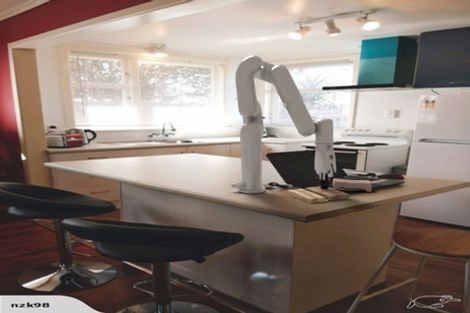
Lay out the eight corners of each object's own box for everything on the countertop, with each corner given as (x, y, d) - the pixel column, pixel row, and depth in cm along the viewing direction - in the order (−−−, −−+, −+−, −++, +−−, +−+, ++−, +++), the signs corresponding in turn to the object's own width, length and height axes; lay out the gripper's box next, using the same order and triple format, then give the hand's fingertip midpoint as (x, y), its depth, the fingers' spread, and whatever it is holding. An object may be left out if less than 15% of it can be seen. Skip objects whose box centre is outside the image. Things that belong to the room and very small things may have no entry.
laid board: (309, 203, 137) (310, 198, 137) (287, 194, 154) (287, 189, 154) (327, 201, 140) (327, 197, 140) (303, 192, 157) (303, 188, 157)
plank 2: (328, 200, 140) (328, 196, 140) (316, 195, 148) (316, 192, 148) (349, 197, 144) (349, 194, 144) (336, 193, 152) (336, 189, 152)
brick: (369, 188, 165) (369, 179, 165) (371, 192, 157) (372, 182, 156) (332, 187, 169) (332, 178, 168) (333, 191, 161) (333, 181, 160)
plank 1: (315, 195, 149) (315, 191, 149) (304, 191, 157) (304, 188, 157) (335, 193, 152) (335, 189, 152) (323, 189, 160) (323, 185, 160)
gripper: (342, 147, 147) (342, 190, 149) (321, 145, 161) (322, 184, 163) (327, 149, 144) (327, 192, 146) (307, 146, 158) (308, 186, 160)
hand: (324, 188), depth 155 cm, fingers closed
